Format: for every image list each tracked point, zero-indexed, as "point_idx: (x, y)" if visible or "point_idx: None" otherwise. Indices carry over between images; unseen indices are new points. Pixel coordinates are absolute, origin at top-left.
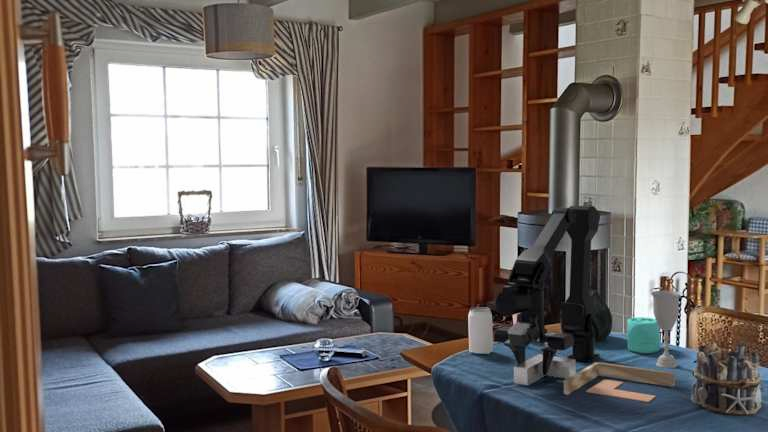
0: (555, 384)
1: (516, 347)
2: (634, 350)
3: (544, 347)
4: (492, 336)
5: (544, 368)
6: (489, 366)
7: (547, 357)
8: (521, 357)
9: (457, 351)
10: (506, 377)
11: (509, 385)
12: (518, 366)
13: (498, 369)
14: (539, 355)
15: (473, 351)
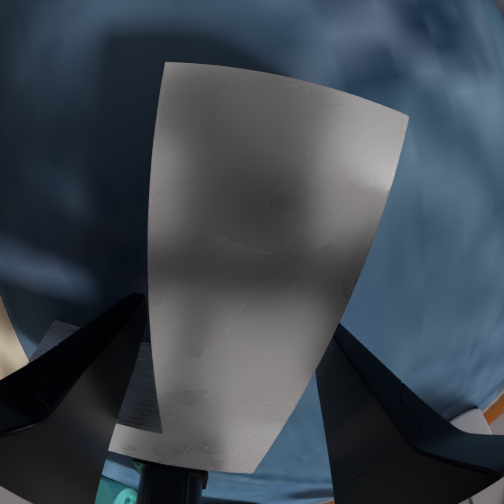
0: (50, 207)
1: (439, 478)
2: (109, 482)
3: (15, 494)
4: None
5: (106, 318)
6: (464, 356)
7: (11, 379)
8: (353, 412)
9: (497, 401)
10: (410, 238)
11: (349, 47)
12: (346, 138)
13: (440, 344)
14: (242, 465)
15: (478, 413)
